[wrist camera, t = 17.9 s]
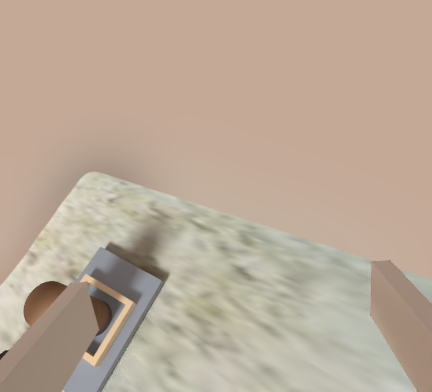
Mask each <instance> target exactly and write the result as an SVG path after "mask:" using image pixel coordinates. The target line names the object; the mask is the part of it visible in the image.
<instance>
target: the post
mask: <svg viewBox="0 0 432 392" xmlns="http://www.w3.org/2000/svg"><path fill="white" fill-rule="evenodd" d="M67 287H68V286H66V285H64V284H61V283H59V282H55V281H49V282H45V283H42V284H40V285H39V286H37V287H36V288H35V289H34V290H33V291H32V292H31V293H30V295H29V296H28V298H27V300H26V302H25V305H24V318H25V320H26V322H27V323H28V324H29V325H30V326H32V325H33V324H34V323H35V322H36V320H37V319H38V318H39V317H40V316H41V315H42V314H43V313H44V312H45V311H46V310H47V308H48V307H49V306H50V305H51V304H52V303H53V302H54V301H55V300H56V299H57V298H58V296H59V295H60V294H61V293H62V292H63V291H64V290H65V289H66V288H67ZM90 298H91V302H92V305H93V309H94V313H95V316H96V320H97V324H98V327H99V331H98V332H97V334H96V336H98V335H100V334H102V333H103V332H104V331H105V330H106V329H107V328H108V326H109V324H110V322H111V317H112V313H111V309H110V307H109V305H108V304H107V303H106V302H104V301H102V300H99V299H97V298H95V297H92V296H90ZM96 336H95V337H96Z"/></svg>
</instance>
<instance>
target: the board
mask: <svg viewBox="0 0 432 392" xmlns="http://www.w3.org/2000/svg"><path fill="white" fill-rule="evenodd" d="M77 282H86V284H87V287H88V291H89V295H90V296H92V297H95V298H97V299H99V300H102V301H104V302H106V303H107V304H108V305H109V307H110V309H111V313H112V317H111V322H110V324H109V326H108V328H107V329H106V330H105V331H104V332H103V333H102V334H100V335H98V336H96V337H94V339H93V341H92V342H91V344H90V345H89V347H88V349H87V350H86V352H85V354H84V355H83V357H82V359H81V360H80V362H79V364H78V365H77V367H76V369H75V370H74V372H73V373H72V375H71V377H70V378H69V380H68V382H67V383H66V385H65V387H64V388H63V390H64V391H65V392H101V390H102V389H103V387H104V385H105V384H106V382H107V380H108V378H109V377H110V375H111V373H112V372H113V370H114V368H115V367H116V365H117V363H118V361H119V360H120V358H121V356H122V355H123V353H124V351H125V349H126V348H127V346H128V344H129V343H130V341H131V339H132V337H133V336H134V334H135V332H136V331H137V329H138V327H139V326H140V324H141V322H142V320H143V319H144V317H145V315H146V314H147V312H148V310H149V308H150V307H151V305H152V303H153V302H154V300H155V298H156V297H157V295H158V293H159V291H160V290H161V288H162V286H163V285H164V282H163V281H162V280H160V279H158V278H156V277H154V276H153V275H151V274H149V273H147V272H145V271H144V270H142V269H140V268H138V267H136V266H134V265H133V264H131V263H129V262H127V261H125V260H124V259H122V258H120V257H118V256H116V255H114V254H113V253H111V252H109V251H107V250H105V249H104V248H102V247H100V248H99V250H98V251H97V253H96V254H95V255H94V257H93V258H92V260H91V261H90V262H89V264H88V265H87V267H86V268H85V270H84V271H83V272H82V274H81V275H80V277H79V278H78V279H77V281H76V282H75V283H77Z"/></svg>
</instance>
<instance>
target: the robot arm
mask: <svg viewBox="0 0 432 392" xmlns="http://www.w3.org/2000/svg"><path fill="white" fill-rule="evenodd" d="M370 315H371V317H372V319H373V320H374V322H375V323H376V325H377V327H378V328H379V330H380V332H381V333H382V335H383V336H384V338H385V340H386V341H387V343H388V345H389V346H390V348H391V349H392V351H393V353H394V354H395V356H396V358H397V359H398V361H399V362H400V364H401V366H402V367H403V369H404V371H405V372H406V374H407V375H408V377H409V379H410V380H411V382H412V384H413V385H414V387H415V388H416V390H417V392H432V304H431V303H430V302H429V301H428V300H427V299H426V298H425V297H424V296H423V295H422V293H421V292H420V291H419V290H418V289H417V288H416V287H415V286H414V285H413V284H412V283H411V282H410V281H409V280H408V279H407V278H406V277H405V276H404V275H403V273H402V272H401V271H400V270H399V269H398V268H397V267H396V266H395V265H394V264H393V263H392V262H391V261H390V260H389V261H374V262H372V269H371V307H370ZM98 331H99V327H98V324H97V320H96V316H95V313H94V309H93V305H92V302H91V298H90V295H89V291H88V287H87V284H86V282H77V283H70V284H69V286H68V287H67V288H66V289H65V290H64V291H63V292H62V293H61V294H60V295H59V296H58V298H57V299H56V300H55V301H54V302H53V303H52V304H51V305H50V306H49V307H48V308H47V310H46V311H45V312H44V313H43V314H42V315H41V316H40V317H39V318H38V319H37V320H36V322H35V323H34V324H33V325H32V326H31V327H30V328H29V329H28V330H27V331H26V332H25V334H24V335H23V336H22V337H21V338H20V339H19V340H18V341H17V342H16V343H15V344H14V346H13V347H12V348H11V349H10V350H6V351H4V352H3V353H1V354H0V392H62V390H63V388H64V387H65V385H66V383H67V382H68V380H69V378H70V377H71V375H72V373H73V372H74V370H75V369H76V367H77V365H78V364H79V362H80V360H81V359H82V357H83V355H84V354H85V352H86V350H87V349H88V347H89V345H90V344H91V342H92V341H93V339H94V337H95V336H96V334H97V332H98Z"/></svg>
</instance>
